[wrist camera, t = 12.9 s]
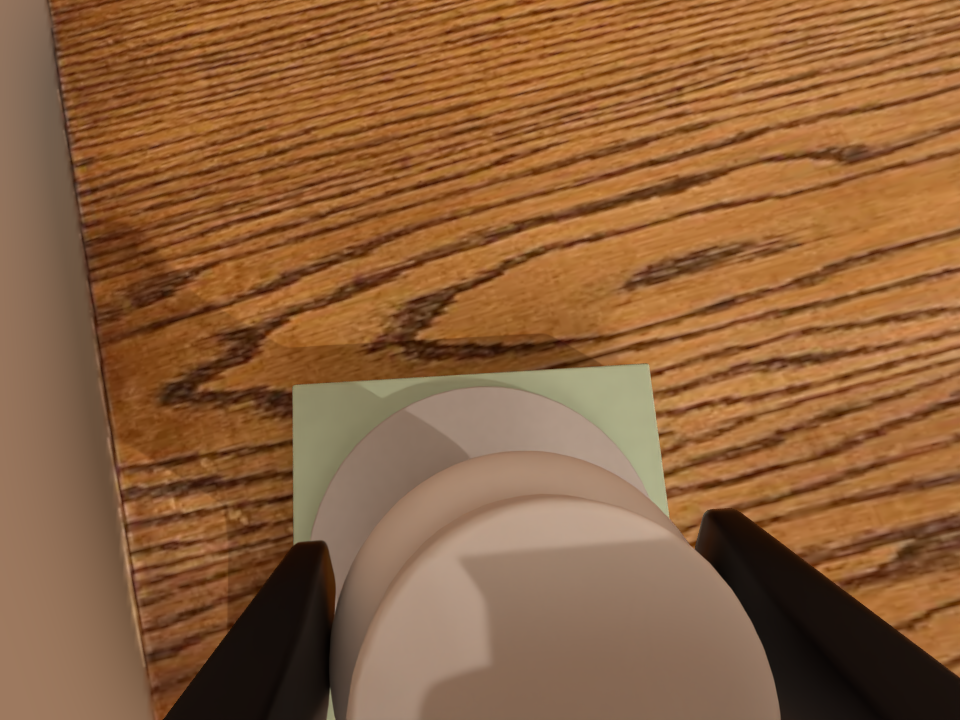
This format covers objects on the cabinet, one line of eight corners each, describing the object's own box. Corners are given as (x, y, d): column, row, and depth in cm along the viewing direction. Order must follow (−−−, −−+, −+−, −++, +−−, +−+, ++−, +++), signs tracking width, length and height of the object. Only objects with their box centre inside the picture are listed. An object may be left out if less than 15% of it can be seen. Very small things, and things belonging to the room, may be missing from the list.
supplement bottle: (426, 741, 14) (373, 1254, 4) (353, 516, 15) (186, 544, 6) (636, 650, 15) (980, 927, 5) (552, 440, 16) (709, 349, 6)
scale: (671, 730, 19) (712, 774, 16) (314, 766, 18) (288, 819, 15) (627, 377, 21) (656, 358, 18) (309, 396, 20) (286, 380, 18)
